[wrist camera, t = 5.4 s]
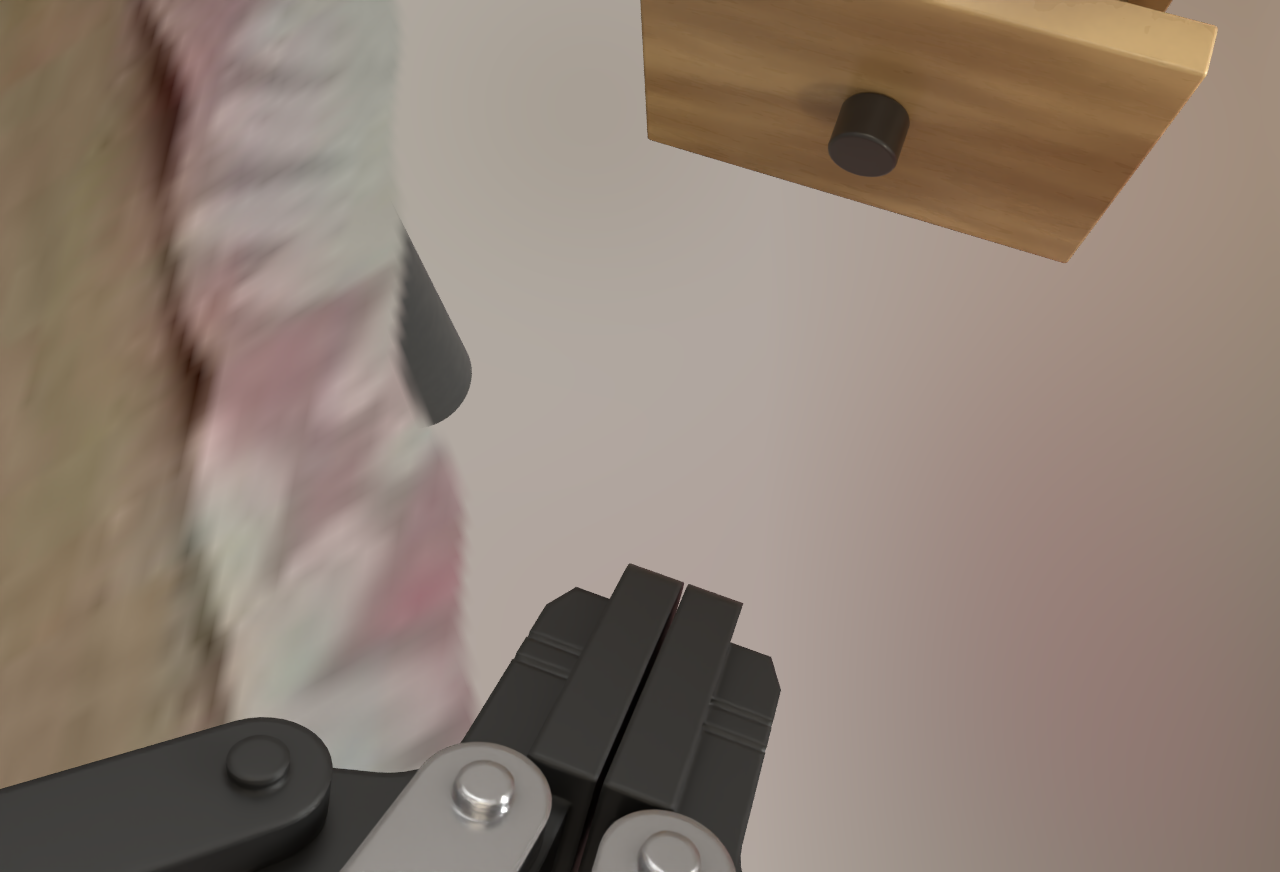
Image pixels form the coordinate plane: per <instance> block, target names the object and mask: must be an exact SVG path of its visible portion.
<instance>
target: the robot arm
mask: <svg viewBox="0 0 1280 872" xmlns="http://www.w3.org/2000/svg"><path fill="white" fill-rule="evenodd" d="M683 586H684V583H683V582H681V581H678V580H675V579H673V578H670V577H667V576H664V575H661V574H659V573H655V572H653V571H650V570H647V569H644V568H641V567H638V566H636V565H633V564H629V565H628V566H627V568H626V570H625V571H624V573H623V575H622V577H621V579H620V581H619V583H618V584H617V586H616V588H615V590H614V592H613V594H612V596H611V598H610V599H608V598H605V597H602V596H600V595H597V594H594V593H592V592H589V591H586V590H583V589H580V588H578V587H575V588H574V589H572V590H571V591H569V592H567V593H565V594H564V595H562V596H560V597H559V598H557V599H555V600H553V601H552V602H550V603H548V604H547V605H546V606H545V608H544V609H543V611H542V612H541V614H540V616H539V617H538V619H537V621H536V622H535V624H534V626H533V627H532V629H531V630H530V633H529V636H528V637H526V638H525V640H524V642H523V643H522V645H521V646H520V648H519V650H518V651H517V653H516V656H515V658H514V659H512V661H511V663H510V664H509V666H508V668H507V669H506V671H505V672H504V674H503V676H502V677H501V679H500V681H499V682H498V684H497V685H496V687H495V689H494V690H493V692H492V693H491V695H490V697H489V698H488V700H487V702H486V703H485V705H484V706H483V708H482V710H481V711H480V713H479V714H478V716H477V718H476V719H475V721H474V723H473V724H472V726H471V727H470V729H469V731H468V732H467V734H466V736H465V737H464V739H463V740H462V741H461V743H460V744H456V745H453V746H450V747H447V748H445V749H443V750H441V751H439V752H437V753H435V754H434V755H433V756H431V757H430V758H429V759H428V760H427V761H426V762H425V763H424V764H423V765H422V766H421V767H420V769H417V770H412V771H407V772H398V773H378V772H368V771H358V770H348V769H338V768H332V767H333V766H332V760H331V756H330V753H329V751H328V749H327V747H326V746H325V744H324V743H323V741H322V740H321V739H320V738H319V737H318V736H317V735H316V734H315V733H313V732H312V731H310V730H309V729H307V728H306V727H303V726H301V725H299V724H297V723H294V722H291V721H287V720H284V719H277V718H264V717H258V718H248V719H243V720H238V721H234V722H230V723H227V724H223V725H220V726H216V727H213V728H210V729H206V730H203V731H199V732H196V733H192V734H189V735H185V736H182V737H179V738H175V739H172V740H168V741H165V742H161V743H158V744H154V745H151V746H147V747H144V748H141V749H137V750H134V751H130V752H127V753H123V754H120V755H116V756H113V757H110V758H106V759H103V760H99V761H96V762H92V763H89V764H85V765H82V766H78V767H75V768H72V769H68V770H65V771H61V772H58V773H54V774H51V775H47V776H44V777H41V778H37V779H34V780H30V781H27V782H23V783H20V784H16V785H13V786H10V787H6V788H3V789H0V872H742V870H741V857H740V855H741V849H742V843H743V840H744V835H745V832H746V828H747V823H748V819H749V816H750V811H751V808H752V803H753V800H754V795H755V792H756V788H757V783H758V780H759V775H760V771H761V767H762V763H763V759H764V755H765V750H766V747H767V743H768V739H769V735H770V731H771V726H772V722H773V719H774V715H775V711H776V707H777V703H778V699H779V695H780V691H781V689H780V686H779V682H778V679H777V676H776V673H775V669H774V665H773V662H772V659H771V657H769V656H767V655H764V654H761V653H758V652H756V651H753V650H750V649H747V648H744V647H742V646H739V645H736V644H733V643H731V642H730V641H731V638H732V635H733V632H734V629H735V626H736V623H737V620H738V617H739V614H740V611H741V608H742V605H743V603H741V602H738V601H735V600H732V599H730V598H727V597H724V596H721V595H718V594H716V593H713V592H709V591H707V590H704V589H701V588H699V587H696V586H693V585H690V584H688V586H687V588H686V590H685V592H684V595H683V597H682V600H681V602H680V605H679V607H678V604H679V600H680V597H681V594H682V590H683ZM677 607H678V609H677Z"/></svg>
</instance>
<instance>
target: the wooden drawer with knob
mask: <svg viewBox="0 0 1280 872" xmlns="http://www.w3.org/2000/svg"><path fill="white" fill-rule="evenodd" d="M1171 2H1172V0H641V20H642V39H643V58H644V76H645V95H646V114H647V132H648V139H650V140H652V141H656V142H659V143H663V144H666V145H670V146H673V147H676V148H679V149H683V150H686V151H689V152H693V153H696V154H700V155H703V156H706V157H710V158H713V159H717V160H720V161H723V162H726V163H730V164H733V165H736V166H740V167H743V168H746V169H750V170H753V171H757V172H760V173H763V174H767V175H770V176H773V177H777V178H780V179H783V180H787V181H790V182H794V183H797V184H800V185H804V186H807V187H810V188H814V189H817V190H820V191H824V192H827V193H830V194H834V195H837V196H840V197H844V198H847V199H851V200H854V201H857V202H861V203H864V204H867V205H871V206H874V207H878V208H881V209H884V210H888V211H891V212H894V213H898V214H901V215H904V216H908V217H911V218H914V219H918V220H921V221H924V222H928V223H931V224H934V225H938V226H941V227H945V228H948V229H951V230H955V231H958V232H961V233H965V234H968V235H971V236H975V237H978V238H981V239H985V240H988V241H992V242H995V243H998V244H1002V245H1005V246H1008V247H1012V248H1015V249H1019V250H1022V251H1025V252H1028V253H1032V254H1035V255H1039V256H1042V257H1045V258H1049V259H1052V260H1055V261H1059V262H1062V263H1067V262H1068V261H1069V259H1070V258H1071V257H1072V255H1073V254H1074V253H1075V251H1076V250H1077V249H1078V247H1079V246H1080V244H1081V243H1082V242H1083V241H1084V239H1085V238H1086V237H1087V235H1088V234H1089V233H1090V231H1091V230H1092V228H1093V227H1094V226H1095V225H1096V223H1097V221H1099V219H1100V218H1101V216H1102V215H1103V214H1104V212H1105V211H1106V210H1107V208H1108V207H1109V206H1110V204H1111V203H1112V202H1113V200H1114V199H1115V198H1116V196H1117V195H1118V194H1119V192H1120V191H1121V190H1122V188H1123V187H1124V186H1125V184H1126V183H1127V182H1128V180H1129V179H1130V178H1131V176H1132V175H1133V173H1134V172H1135V171H1136V169H1137V168H1138V167H1139V165H1140V164H1141V163H1142V161H1143V160H1144V159H1145V157H1146V156H1147V155H1148V153H1149V152H1150V151H1151V149H1152V148H1153V147H1154V145H1155V144H1156V143H1157V141H1158V140H1159V139H1160V137H1161V136H1162V134H1163V133H1164V132H1165V130H1166V129H1167V128H1168V126H1169V125H1170V124H1171V122H1172V121H1173V120H1174V118H1175V117H1176V116H1177V114H1178V113H1179V112H1180V110H1181V109H1182V108H1183V106H1184V105H1185V104H1186V102H1187V101H1188V99H1189V98H1190V97H1191V95H1192V94H1193V93H1194V92H1195V90H1196V89H1197V87H1198V86H1199V85H1200V83H1201V82H1202V80H1203V79H1204V78H1205V77H1206V75H1207V72H1208V68H1209V64H1210V60H1211V56H1212V52H1213V48H1214V44H1215V40H1216V35H1217V30H1218V29H1217V27H1216V26H1214V25H1210V24H1207V23H1203V22H1199V21H1195V20H1191V19H1187V18H1184V17H1180V16H1176V15H1172V14H1169V13H1165V11H1166V10H1167V8H1168V7H1169V5H1170V3H1171Z"/></svg>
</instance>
